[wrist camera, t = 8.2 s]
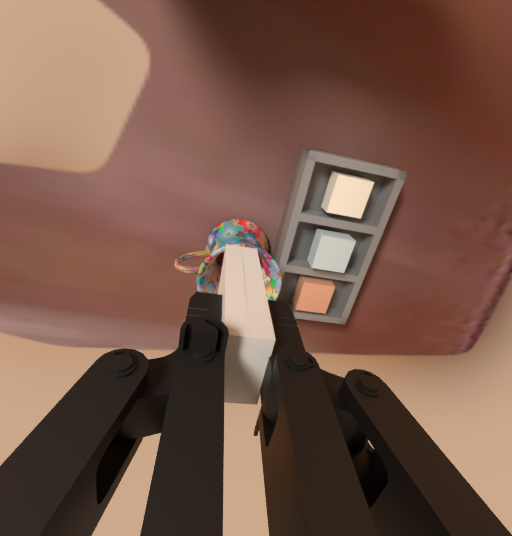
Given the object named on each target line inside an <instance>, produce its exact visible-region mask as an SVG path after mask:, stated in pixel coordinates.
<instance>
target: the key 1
mask: <svg viewBox="0 0 512 536" xmlns="http://www.w3.org/2000/svg"><path fill="white" fill-rule="evenodd" d="M334 289H335V285H334V284H333V282H332V280H331V279H329V278H323V277H316V276H309V275H303V274H300V277H299V280H298V283H297V286H296V289H295V293H294V296H293V299H292V301H293V304H294V307H295V310H301V311H309V312H316V313H324V314H326V311H327V308H328V306H329V303H330V300H331V297H332V295H333V292H334Z"/></svg>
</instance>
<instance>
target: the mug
mask: <svg viewBox="0 0 512 536" xmlns="http://www.w3.org/2000/svg"><path fill="white" fill-rule="evenodd" d="M226 244H228V245H235V246H241V247H248V248H255V249H257V251H258V256H259V261H260V266H261V271H262V276H263V280H264V285H265V290H266V295H267V300H274V301H275V300H276V299H277V297H278V295H279V293H280V290H281V286H282V275H281V271H280V268H279V266H278V264H277V262H276V261H275V260H274V258H273V257H272V256H271V255H270V254H269V253H268V241H267V238H266V236H265V234H264V232H263V231H262V230H261V229H260V228H259V227H258V226H257V225H256V224H254V223H252V222H250V221H247V220H243V219H232V220H228V221H225V222H223V223H221V224H219V225H218V226H217V227H215V228H214V229H213V230H212V232H211V233H210V235H209V237H208V239H207V243H206V248H205V251H198V252H192V253H187V254H184V255H182V256H180V257H178V258H177V259H176V260H175V267H176V269H177V270H179V271H181V272H184V273H191V274H195V273H198V275H197V289H198V292H204V293H212V294H218V288H219V282H220V276H221V270H222V264H223V258H224V253H225V247H226ZM207 256H208V257H207ZM195 257H207V258H206V259H205V260H204V261H203V263H202V265H201V266H200V267H186V266H183V265H181V264H179V263H180V262H182V261H184V260H187V259H190V258H195Z"/></svg>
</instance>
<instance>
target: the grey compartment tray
mask: <svg viewBox="0 0 512 536" xmlns="http://www.w3.org/2000/svg"><path fill="white" fill-rule="evenodd" d="M332 171H335V172H340V173H344V174H349V175H354V176H358V177H363V178H367V179H369V180H371V181H373V182H374V185H373V187H372V190H371V193H370V195H369V198H368V201H367V203H366V206H365V209H364V211H363V214H362V217H361V219H359V218H354V217H349V216H344V215H338V214H333V213H328V212H326V211H325V210H324V209H323V208H322V207H321V205H322V202H323V199H324V195H325V192H326V189H327V186H328V182H329V179H330V176H331V173H332ZM407 174H408V172H407V171H404V170H401V169H398V168H395V167H392V166H389V165H384V164H380V163H375V162H371V161H366V160H362V159H357V158H353V157H349V156H344V155H340V154H335V153H331V152H326V151H322V150H317V149H313V148H309V147H304V146H301V148H300V151H299V155H298V159H297V163H296V167H295V171H294V175H293V179H292V183H291V186H290V190H289V194H288V198H287V202H286V206H285V210H284V214H283V218H282V222H281V225H280V229H279V233H278V237H277V241H276V245H275V249H274V253H273V258H274V260H275V261H276V262H277V264H278V266H279V268H280V271H281V275H282V286H281V290H280V293H279V295H278V297H277V299H276V300H275V301H282V302H286V304H287V305H288V306H289V307H290V308H291V309H292V311H293V314H294V317H295V318H297V319H305V320H313V321H320V322H328V323H336V324H344V325H345V323H346V321H347V319H348V316H349V314H350V311H351V309H352V307H353V304H354V302H355V299H356V297H357V294H358V292H359V290H360V287H361V285H362V282H363V280H364V278H365V275H366V273H367V270H368V268H369V265H370V263H371V261H372V258H373V256H374V253H375V251H376V249H377V246H378V244H379V241H380V239H381V236H382V234H383V232H384V229H385V227H386V224H387V222H388V220H389V217H390V215H391V212H392V210H393V207H394V205H395V203H396V200H397V198H398V195H399V193H400V191H401V188H402V186H403V183H404V181H405V178H406V176H407ZM317 229H322V230H328V231H333V232H339V233H344V234H349V235H350V236H351V237H352V238H353V239H354V240H355V241H356V243H355V246H354V248H353V251H352V254H351V256H350V259H349V262H348V264H347V267H346V269H345V272H344V273H340V272H334V271H328V270H321V269H315V268H311V266H310V264H309V262H308V260H307V258H308V255H309V252H310V249H311V246H312V242H313V239H314V236H315V233H316V230H317ZM300 274H303V275H309V276H316V277H323V278H329V279H331V280H332V282H333V284H334V285H335V289H334V292H333V295H332V297H331V300H330V303H329V306H328V308H327V311H326V314H324V313H316V312H309V311H301V310H295V307H294V304H293V301H292V299H293V296H294V293H295V289H296V286H297V283H298V280H299V277H300Z"/></svg>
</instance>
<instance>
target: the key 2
mask: <svg viewBox="0 0 512 536" xmlns="http://www.w3.org/2000/svg"><path fill="white" fill-rule="evenodd" d="M373 185H374V182H373V181H371V180H369V179H367V178H363V177H358V176H354V175H349V174H344V173H340V172H335V171H332V173H331V176H330V179H329V182H328V186H327V189H326V192H325V195H324V199H323V202H322V205H321V207H322V208H323V209H324V210H325V211H326V212H328V213H333V214H338V215H344V216H349V217H354V218H359V219H361V217H362V214H363V211H364V209H365V206H366V203H367V201H368V198H369V195H370V193H371V190H372V187H373Z"/></svg>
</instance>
